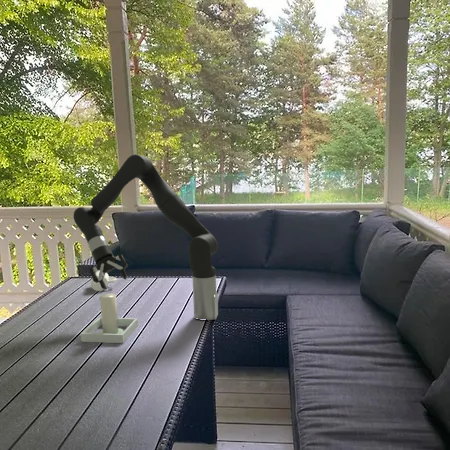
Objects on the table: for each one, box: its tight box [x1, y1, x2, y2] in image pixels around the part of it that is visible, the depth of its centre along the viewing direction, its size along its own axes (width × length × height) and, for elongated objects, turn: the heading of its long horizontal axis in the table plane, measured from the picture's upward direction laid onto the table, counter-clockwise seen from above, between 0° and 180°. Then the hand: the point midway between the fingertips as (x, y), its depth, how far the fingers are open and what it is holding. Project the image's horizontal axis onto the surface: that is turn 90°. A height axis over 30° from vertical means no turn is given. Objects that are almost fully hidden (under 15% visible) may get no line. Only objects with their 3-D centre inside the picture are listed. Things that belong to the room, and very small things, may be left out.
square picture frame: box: [80, 317, 139, 344], centre depth 163 cm, size 16×16×3 cm
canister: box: [99, 293, 119, 334], centre depth 162 cm, size 6×6×14 cm
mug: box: [90, 270, 118, 292], centre depth 220 cm, size 12×10×8 cm
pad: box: [98, 327, 124, 334], centre depth 163 cm, size 9×9×1 cm
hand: (115, 284), depth 174 cm, fingers open, 8 cm apart
